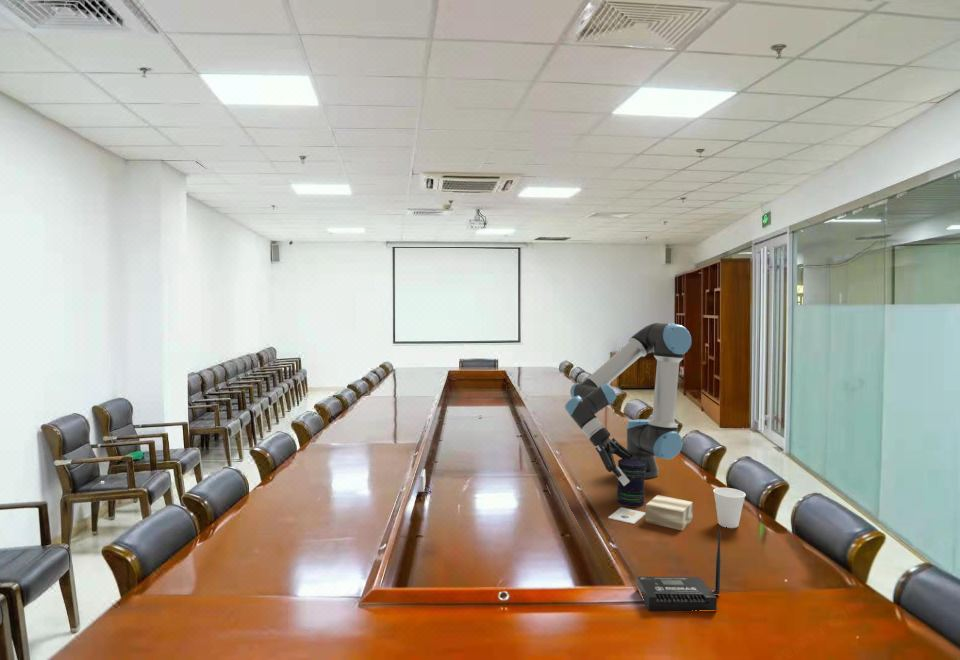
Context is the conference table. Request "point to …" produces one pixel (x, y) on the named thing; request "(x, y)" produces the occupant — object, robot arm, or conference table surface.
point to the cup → (729, 506)
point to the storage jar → (632, 483)
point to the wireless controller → (680, 591)
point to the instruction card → (627, 515)
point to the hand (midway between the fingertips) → (633, 479)
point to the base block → (669, 512)
